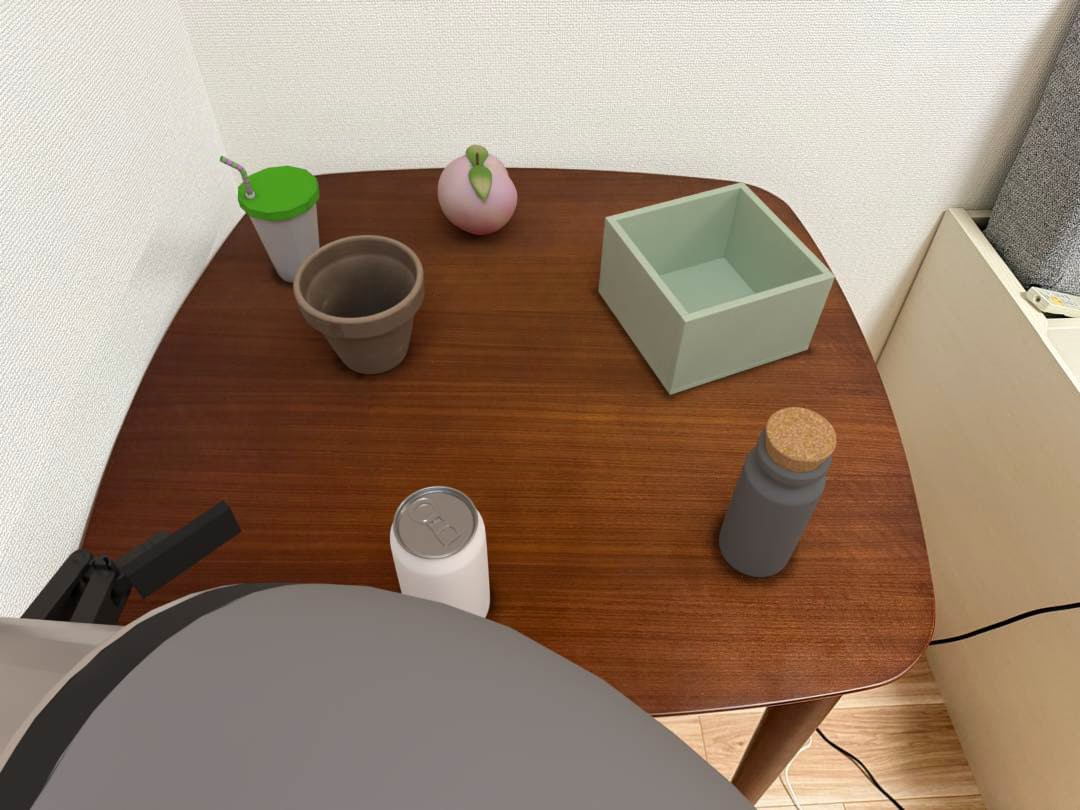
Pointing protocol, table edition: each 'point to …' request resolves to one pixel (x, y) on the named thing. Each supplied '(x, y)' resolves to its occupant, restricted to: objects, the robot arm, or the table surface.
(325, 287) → the flower pot
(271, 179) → the cup
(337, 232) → the table surface
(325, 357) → the table surface
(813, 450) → the bottle
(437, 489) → the can
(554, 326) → the table surface
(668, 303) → the bin
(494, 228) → the decorative fruit
